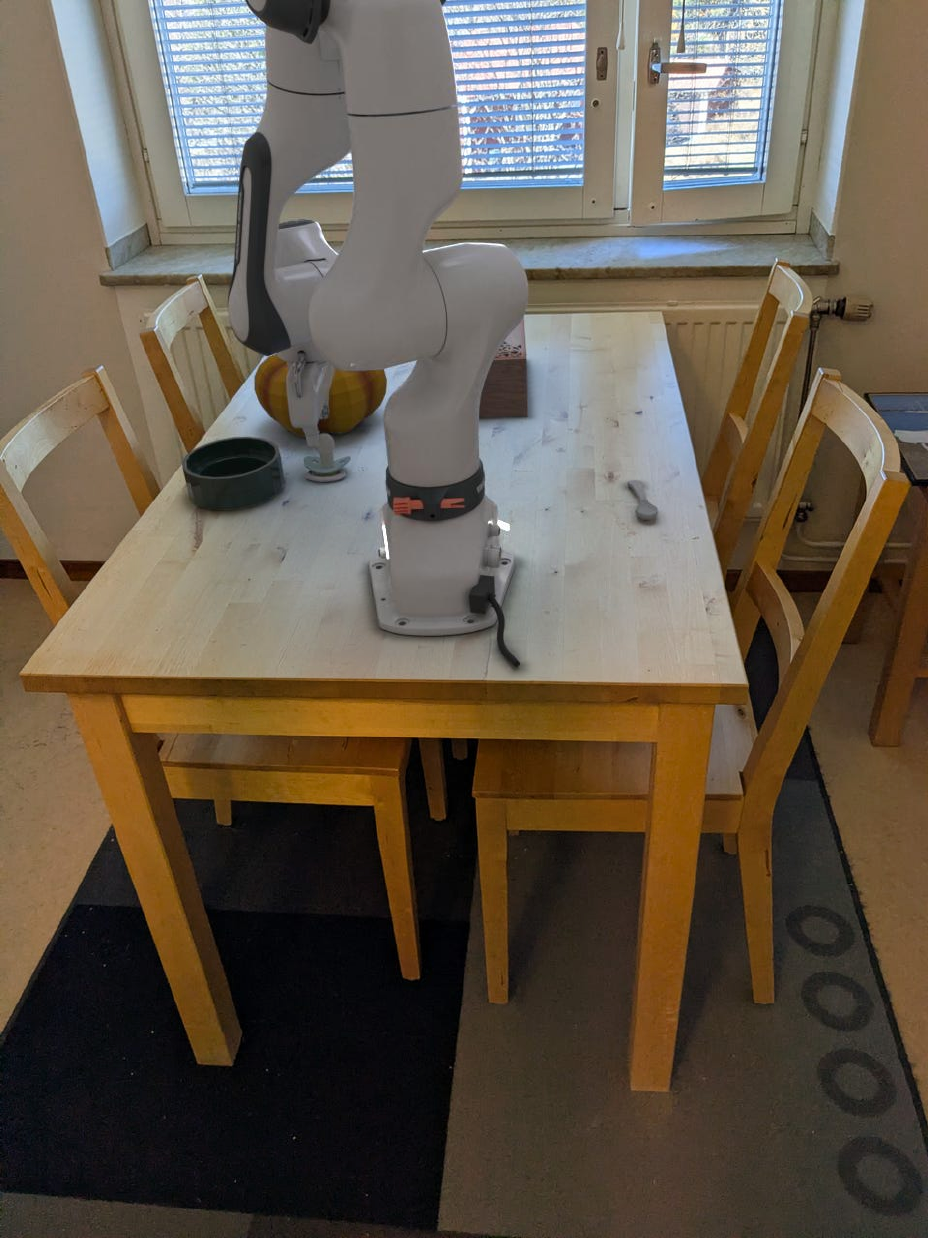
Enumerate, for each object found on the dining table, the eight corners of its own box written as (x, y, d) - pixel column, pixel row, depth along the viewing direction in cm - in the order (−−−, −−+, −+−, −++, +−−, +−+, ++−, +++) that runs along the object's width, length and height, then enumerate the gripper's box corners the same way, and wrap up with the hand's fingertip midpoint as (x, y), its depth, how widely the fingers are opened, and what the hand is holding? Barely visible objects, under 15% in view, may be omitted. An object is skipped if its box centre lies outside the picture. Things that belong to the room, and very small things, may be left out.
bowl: (275, 511, 142) (269, 476, 139) (179, 514, 142) (170, 480, 139) (292, 467, 153) (286, 434, 150) (203, 471, 154) (195, 438, 151)
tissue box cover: (527, 416, 164) (526, 358, 159) (441, 420, 165) (437, 362, 160) (524, 361, 186) (523, 309, 180) (448, 365, 186) (444, 312, 181)
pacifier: (345, 485, 148) (355, 466, 152) (339, 447, 144) (349, 429, 149) (298, 484, 149) (309, 465, 153) (291, 446, 145) (303, 428, 150)
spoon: (638, 524, 132) (638, 510, 131) (622, 489, 143) (623, 476, 142) (660, 523, 132) (660, 509, 131) (643, 488, 143) (643, 475, 142)
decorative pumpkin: (390, 442, 159) (380, 352, 150) (254, 452, 159) (236, 362, 150) (391, 395, 175) (382, 311, 167) (268, 404, 175) (253, 321, 167)
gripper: (317, 366, 130) (330, 461, 138) (337, 315, 147) (348, 402, 155) (270, 368, 130) (286, 462, 138) (295, 316, 147) (308, 403, 155)
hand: (318, 430), depth 147 cm, fingers open, 8 cm apart
